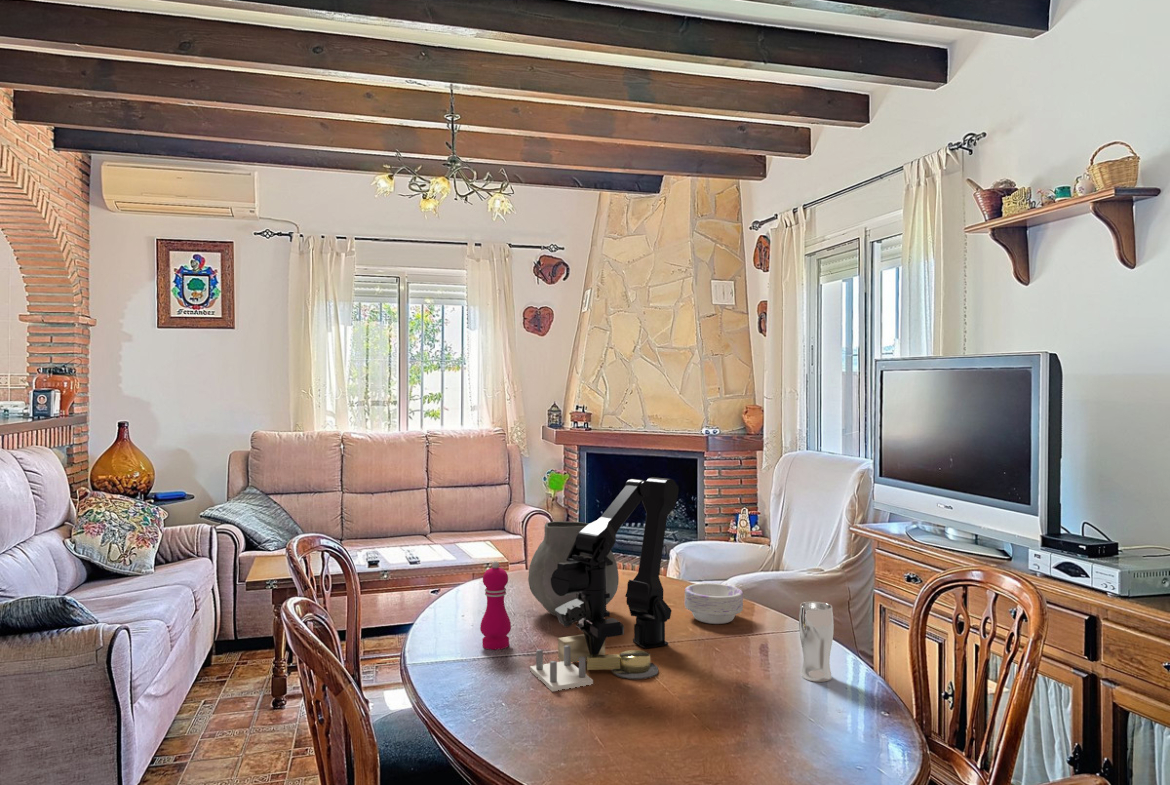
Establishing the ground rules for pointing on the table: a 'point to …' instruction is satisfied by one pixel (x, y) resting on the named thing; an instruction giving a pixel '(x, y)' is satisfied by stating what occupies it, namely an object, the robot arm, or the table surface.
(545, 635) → the table surface
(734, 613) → the paper bowls
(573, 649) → the beech bar
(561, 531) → the ceramic pot
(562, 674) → the peg rack
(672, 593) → the table surface
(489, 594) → the pepper mill
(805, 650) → the beer glass
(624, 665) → the brass lever handle
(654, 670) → the base
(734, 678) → the table surface
